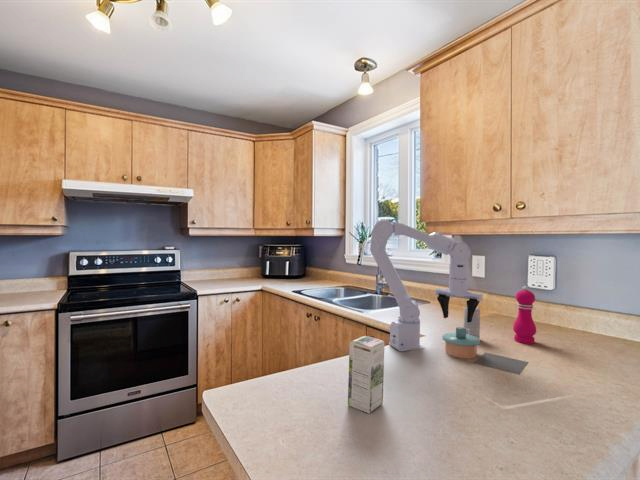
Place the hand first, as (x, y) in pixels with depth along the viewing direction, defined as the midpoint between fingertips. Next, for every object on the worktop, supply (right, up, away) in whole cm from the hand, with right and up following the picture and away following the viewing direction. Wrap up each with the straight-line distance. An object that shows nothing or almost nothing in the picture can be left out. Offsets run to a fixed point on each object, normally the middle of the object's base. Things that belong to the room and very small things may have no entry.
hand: (457, 319), depth 112 cm
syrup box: (-35, -11, -36) cm, 51 cm away
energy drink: (+10, -10, +11) cm, 18 cm away
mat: (+8, -11, -11) cm, 17 cm away
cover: (0, -6, -3) cm, 7 cm away
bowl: (0, -10, -3) cm, 11 cm away
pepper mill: (+29, -11, +11) cm, 33 cm away
